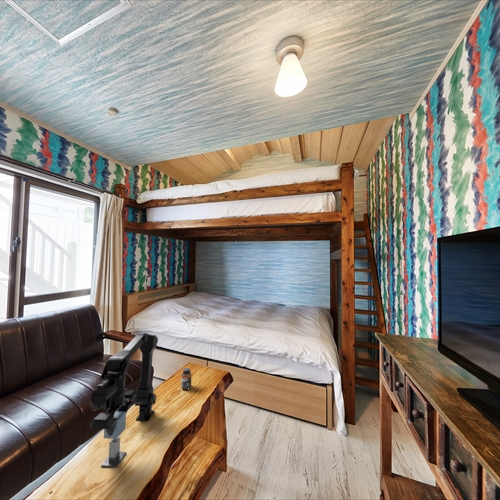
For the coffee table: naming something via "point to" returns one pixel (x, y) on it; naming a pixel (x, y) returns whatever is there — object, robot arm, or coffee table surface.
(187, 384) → the supplement bottle
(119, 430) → the grey block on base
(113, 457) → the post
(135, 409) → the coffee table surface
